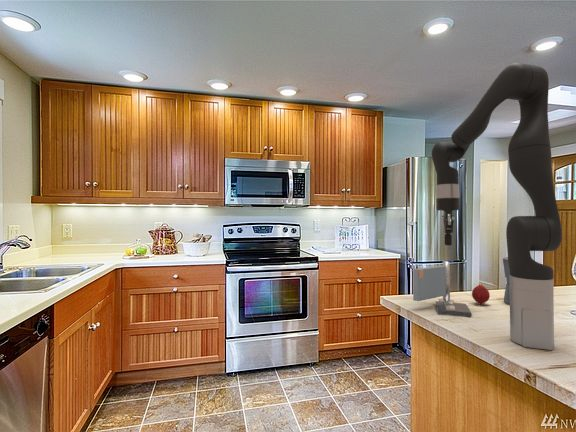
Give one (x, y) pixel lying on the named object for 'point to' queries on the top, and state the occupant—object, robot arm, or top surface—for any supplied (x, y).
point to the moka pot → (507, 275)
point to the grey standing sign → (429, 283)
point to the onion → (480, 294)
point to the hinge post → (447, 282)
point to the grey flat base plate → (453, 309)
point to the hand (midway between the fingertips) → (448, 245)
